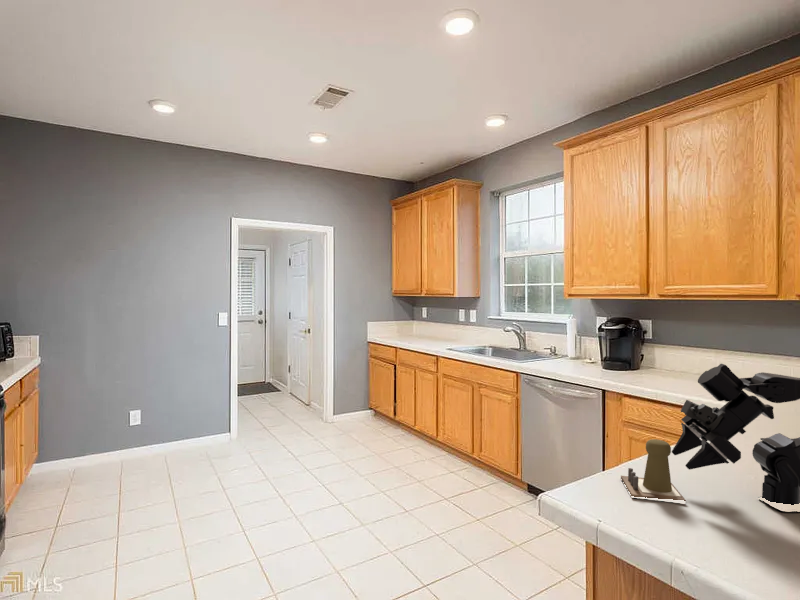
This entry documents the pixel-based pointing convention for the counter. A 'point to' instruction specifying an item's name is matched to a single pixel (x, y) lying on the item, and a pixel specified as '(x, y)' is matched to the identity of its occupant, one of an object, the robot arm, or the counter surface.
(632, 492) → the pin board
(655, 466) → the cork
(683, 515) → the counter surface
